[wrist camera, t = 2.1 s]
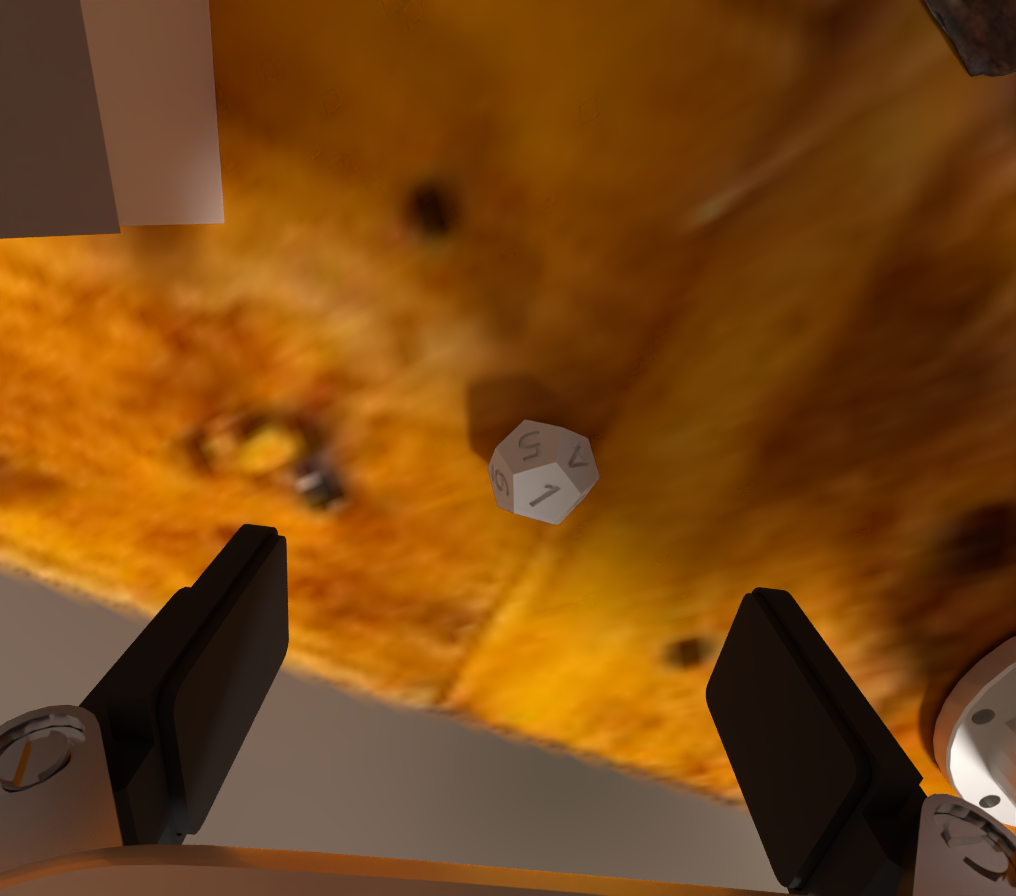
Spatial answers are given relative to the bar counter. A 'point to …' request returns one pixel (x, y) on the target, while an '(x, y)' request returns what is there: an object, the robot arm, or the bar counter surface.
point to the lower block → (157, 108)
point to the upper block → (50, 125)
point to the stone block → (980, 33)
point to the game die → (542, 471)
